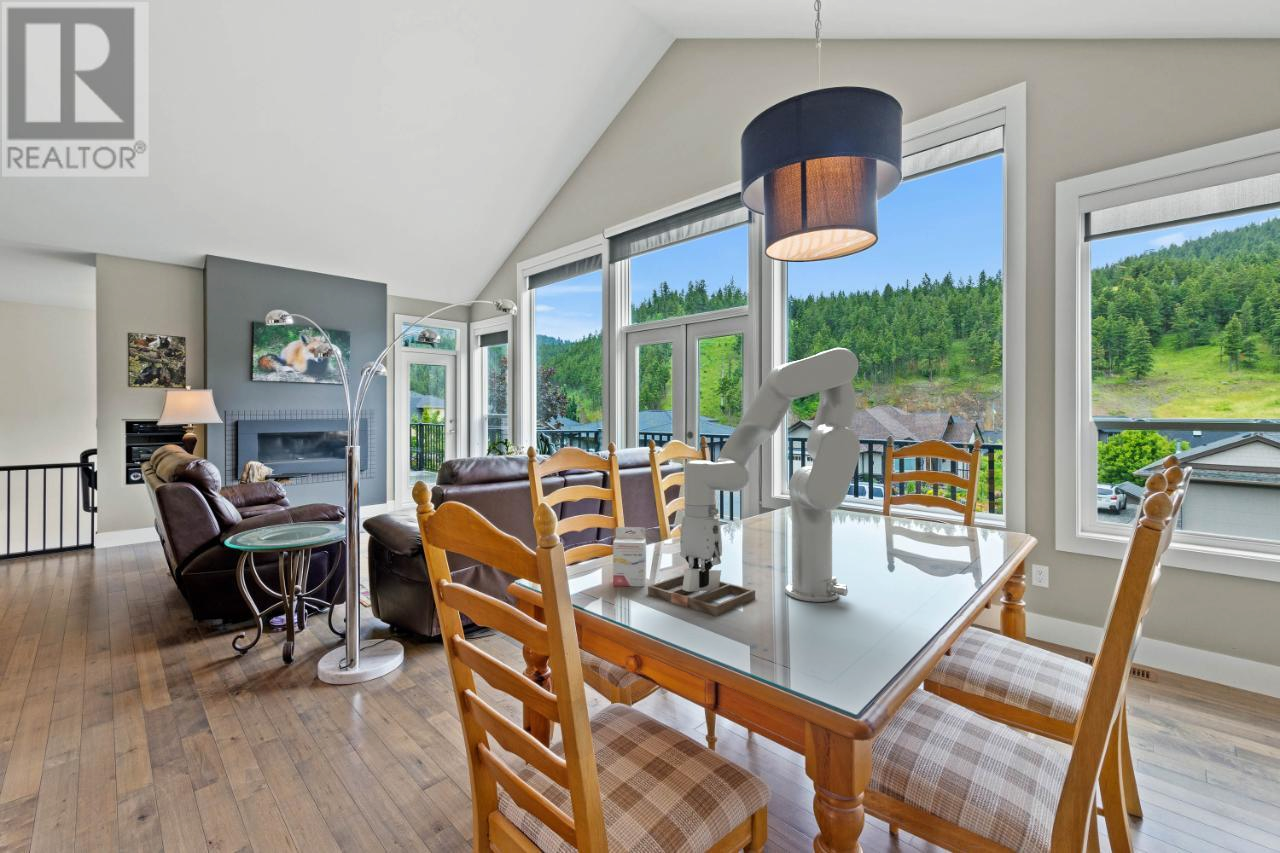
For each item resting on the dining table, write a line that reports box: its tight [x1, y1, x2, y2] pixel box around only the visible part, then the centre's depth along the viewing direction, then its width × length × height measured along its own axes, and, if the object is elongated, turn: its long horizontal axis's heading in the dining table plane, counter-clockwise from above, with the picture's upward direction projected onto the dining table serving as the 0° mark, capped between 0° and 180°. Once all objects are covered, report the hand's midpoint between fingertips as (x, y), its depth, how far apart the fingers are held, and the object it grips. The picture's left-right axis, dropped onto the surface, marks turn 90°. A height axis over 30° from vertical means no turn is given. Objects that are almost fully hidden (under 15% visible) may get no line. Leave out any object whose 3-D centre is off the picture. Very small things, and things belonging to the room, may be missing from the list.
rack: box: [647, 573, 756, 617], centre depth 135 cm, size 21×16×2 cm
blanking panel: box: [681, 568, 722, 592], centre depth 136 cm, size 2×12×5 cm, turn 135°
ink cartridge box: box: [612, 526, 647, 587], centre depth 146 cm, size 9×5×15 cm, turn 84°
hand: (700, 584), depth 135 cm, fingers closed on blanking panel, 1 cm apart
